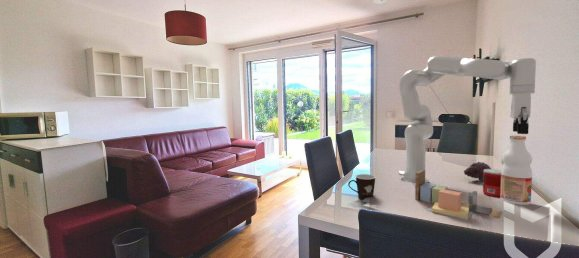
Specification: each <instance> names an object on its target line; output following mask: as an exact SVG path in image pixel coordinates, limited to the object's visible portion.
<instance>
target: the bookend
mask: <svg viewBox="0 0 579 258" xmlns="http://www.w3.org/2000/svg"><path fill="white" fill-rule="evenodd" d="M468 204H469V211H470V212H475V213H474V214H477V213H479V214H478V215H481V214H484V215H483V216H486V215H488V216H487V217H490V216H489V214H490V213H491V211H492V209H493V208H492V207H487V206H481V205H478V191H476V190H472V192H471V193H469V195H468Z"/></svg>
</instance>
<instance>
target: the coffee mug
mask: <svg viewBox="0 0 579 258" xmlns="http://www.w3.org/2000/svg"><path fill="white" fill-rule="evenodd" d="M352 182H354V183H355V184H356V189H357V190H356V189H354V188H352V187H351V183H352ZM375 183H376V176H375V175H373V174H370V173H369V174H367V173H362V174H361V173H360V174H356V175H355V180H354V179H351V180H349V181H348V185H347V186H348V188H350V189H351V190H352V191H354V192H356V193H357V197H358V199H359V200H361V201H364V200H365V199H368V198H373V197H374V193H375V192H374V191H375V186H376V185H375Z"/></svg>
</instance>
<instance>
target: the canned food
mask: <svg viewBox="0 0 579 258" xmlns="http://www.w3.org/2000/svg"><path fill="white" fill-rule="evenodd" d="M501 170H502V169H495V168H491V169H485V170H484V171H483V181H482V193H483V194H484V195H485V196H488V197H492V198H500V194H501Z"/></svg>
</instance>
